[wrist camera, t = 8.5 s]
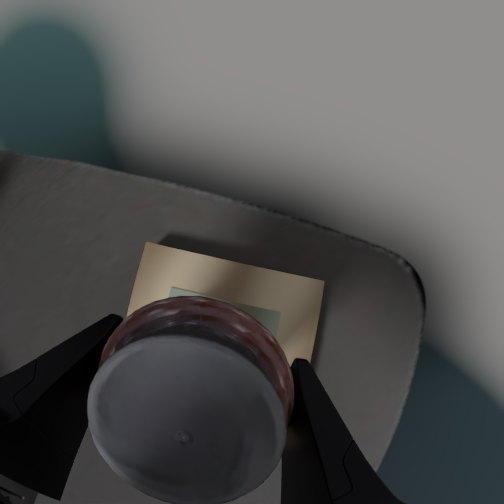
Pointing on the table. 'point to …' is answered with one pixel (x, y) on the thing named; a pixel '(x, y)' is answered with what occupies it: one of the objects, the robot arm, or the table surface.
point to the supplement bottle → (191, 401)
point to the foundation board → (235, 292)
